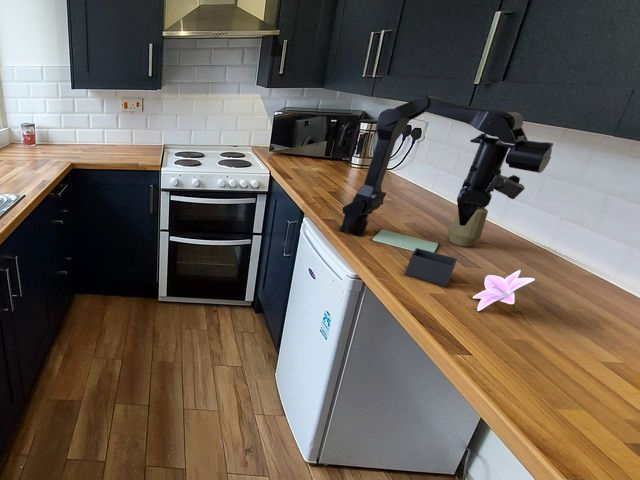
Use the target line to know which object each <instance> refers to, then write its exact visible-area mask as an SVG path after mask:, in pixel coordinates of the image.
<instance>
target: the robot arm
mask: <svg viewBox="0 0 640 480" xmlns="http://www.w3.org/2000/svg"><path fill="white" fill-rule="evenodd" d="M425 113H428V114H433V115H436V116H439V117H443V118H446V119H451V120H454V121H458V122H461V123H465V124H467V125H469V126H471V127H473V128H474V129H476V131H479V132H480V134H479V135H478V136H476V137H473V138H472V139H470V140H469V142H470V143H472V144H479V146H478V147H477V150H476V153H475V155H474V158H473V160H472V162H471V165H470V168H469V171H468V173H467V175H466V178H465V179H464V181H463V183H462V186H461V189H460V190H459V193H458V194H457V198H456V203H457V214H458V213H459V222H460V225H462V226H465V225H466V224H467V222H468V221H469V220H470V218H471V217H472V216H473V214H474V213H475V212H476V210H477V209H480V208H482V207H488V206H490V203H491V200H492V197H493V194H492V193H491V192H494V191H496V192H499V193H501V194H502V195H504V196H507V198H508V199H511V200H515V199H516V198H518V196H519V195H520V194H521V193H522V192H523V191H525V189H526V188H525V185H523V184H522V183H520V180H521V178H520V177H519V176H518V175H516V174H512V175H510V176H504V175H502V166H503V164H504V161H505V164H507V165H508V168H511V169H515V170H516V169H517V170H521V171H526V172H527V171H528V172H533V173H537V174H541V173H543V171H544V170H545V169H546V167H547V166H548V165H549V163H550V161H551V159H552V156H551V155H552V152H553V146H554V143H553V142H547V141H543V142H541V141H534V140H529V139H528V137H527V136H526V133H525V130H524V129H523V124H524V118H523V116H522V114H521V113H519V112H517V111H513V110H511V111H510V110H500V109H484V108H478V107H474V106H471V105H467V104H462V103H458V102H455V101H450V100H448V99H447V100H446V99H443V98H438V97H436V96H434V95H420V96H418V97H417V98H415V99H413V100H410V101H407V102H406V103H403V104H401V105H399V106H396V107H393V108H387V109H384V110H383V111H381V112H380V113H379V114H378V117H377V123H376V134H377V142H376V144H375V147H374V151H373V154H372V156H371V160H370V163H369V167H368V170H367V172H366V175H365V179H364V182H363V184H362V186H360V188H359V189H358V191H357V192H356V193H355V195H354V197H353V198H352V201H351V202H350V203H348V204H346V205H344V206H342V214H343V215H344V216H343V220H342V223H341V227H340V228H339V229H338V231H339V232H343V233H347V234H350V235H354V236H357V237H361V236H362V235H363V234H365V233H366V231H367V228H368V224H369V222H370V220H369V219H368V218H369V215H371V214H372V213H373V212H374V211H376V210H378V209H380V207H381V206H382V205H384V200H385V197H386V195H387V192H384V191H383V190H382V184H383V181H384V177H385V174H386V172H387V169H388V166H389V163H390V160H391V157H392V154H393V151H394V149H395V145H396V142H397V140H399V138H400V136H401V135H402V134H403V133H404V131H405V130H406V128H407V127H408V124H409V122H410V121H412V120H414V119H416V118H418V117H419V116H421V115H423V114H425ZM481 132H482V133H481Z"/></svg>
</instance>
